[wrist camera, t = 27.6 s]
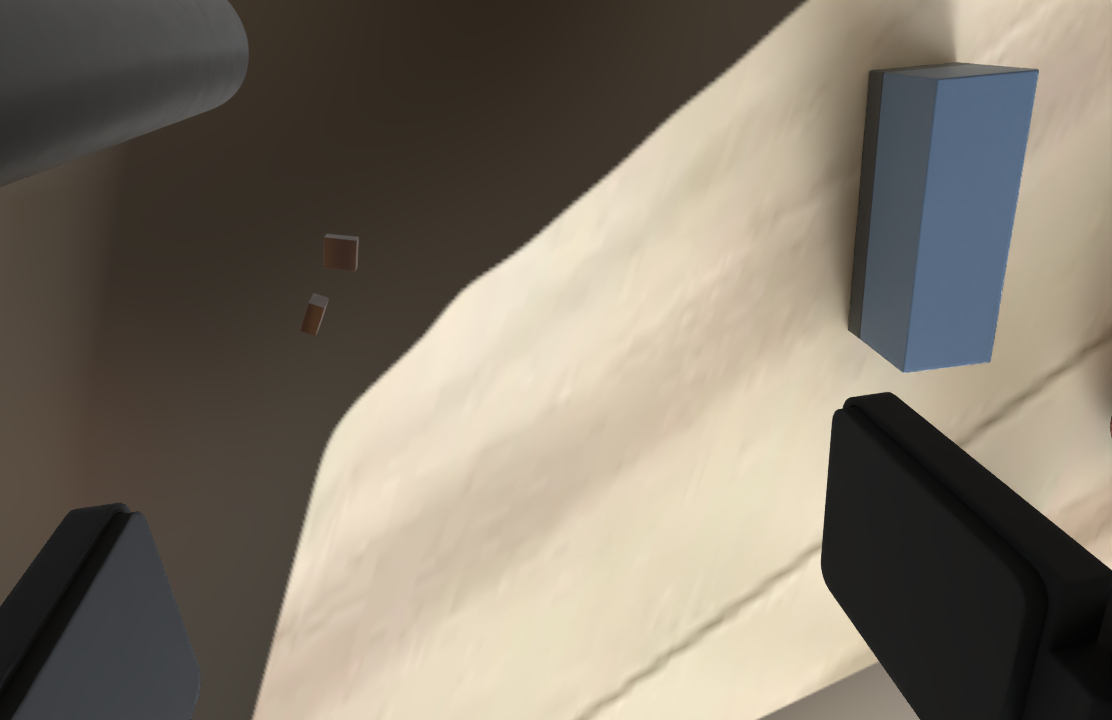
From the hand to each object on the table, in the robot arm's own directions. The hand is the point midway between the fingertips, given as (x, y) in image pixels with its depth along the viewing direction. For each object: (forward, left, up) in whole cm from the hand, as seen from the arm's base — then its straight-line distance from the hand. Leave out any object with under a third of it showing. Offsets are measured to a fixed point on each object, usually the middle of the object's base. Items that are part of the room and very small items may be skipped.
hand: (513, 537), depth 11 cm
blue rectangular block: (+19, -3, -25) cm, 32 cm away
